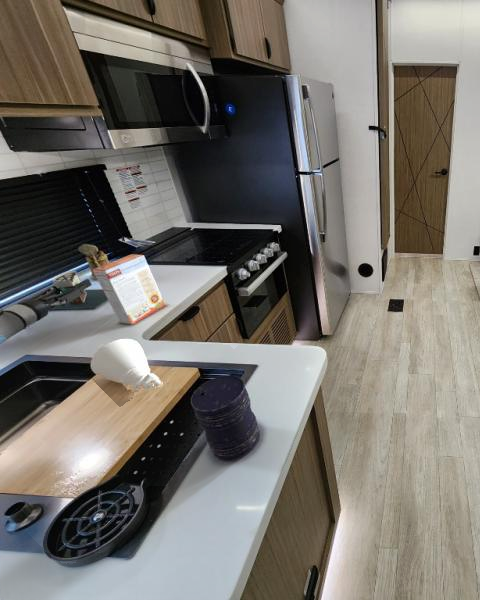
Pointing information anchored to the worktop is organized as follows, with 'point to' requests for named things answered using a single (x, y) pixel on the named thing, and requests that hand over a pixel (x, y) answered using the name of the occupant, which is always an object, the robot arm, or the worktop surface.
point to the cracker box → (130, 288)
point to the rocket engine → (124, 364)
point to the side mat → (86, 301)
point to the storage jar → (226, 417)
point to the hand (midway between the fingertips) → (82, 282)
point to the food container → (69, 284)
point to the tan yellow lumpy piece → (93, 257)
